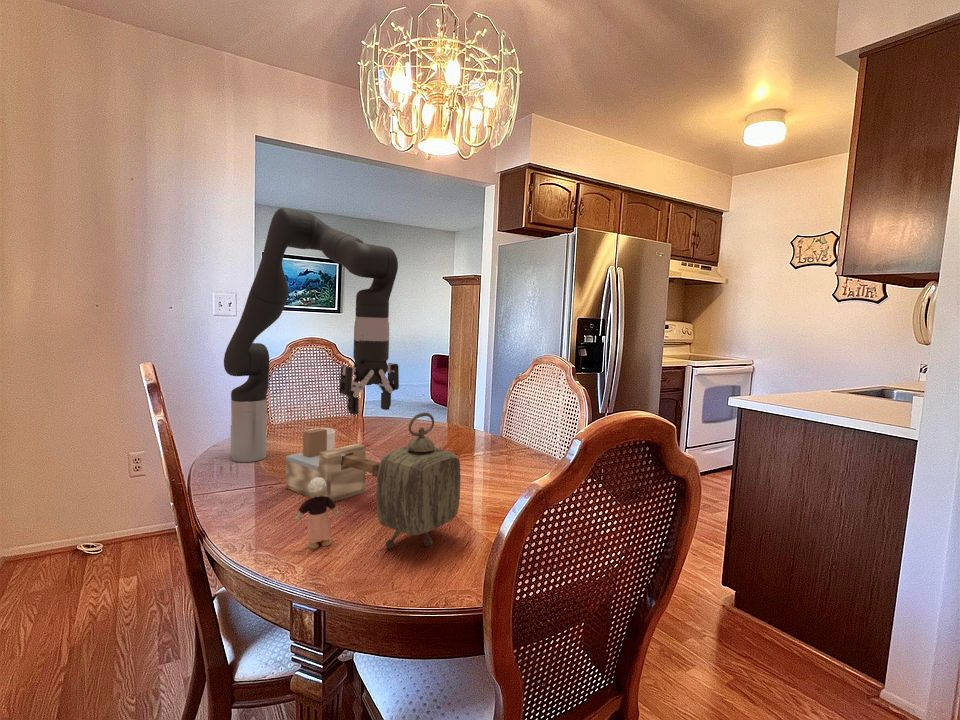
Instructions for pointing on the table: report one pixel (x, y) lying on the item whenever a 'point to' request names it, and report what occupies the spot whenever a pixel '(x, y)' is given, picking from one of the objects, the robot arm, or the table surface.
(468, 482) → the table surface
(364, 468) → the bar
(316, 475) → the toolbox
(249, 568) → the table surface
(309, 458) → the lid
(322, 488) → the grandmother figurine
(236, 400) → the robot arm
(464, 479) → the table surface
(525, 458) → the table surface
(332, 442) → the white cup
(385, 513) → the tabletop clock
